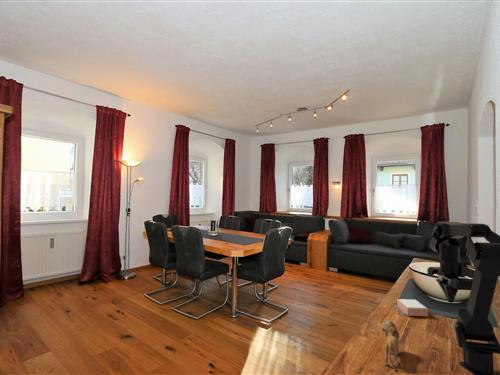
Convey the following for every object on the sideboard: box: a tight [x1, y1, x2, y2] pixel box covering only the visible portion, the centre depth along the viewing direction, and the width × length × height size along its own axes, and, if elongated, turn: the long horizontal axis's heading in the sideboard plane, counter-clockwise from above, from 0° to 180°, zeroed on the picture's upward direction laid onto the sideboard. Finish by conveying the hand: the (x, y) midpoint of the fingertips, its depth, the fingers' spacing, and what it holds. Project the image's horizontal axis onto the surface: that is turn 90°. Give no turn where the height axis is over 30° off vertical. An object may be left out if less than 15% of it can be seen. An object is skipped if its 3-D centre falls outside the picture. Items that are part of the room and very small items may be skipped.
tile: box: [396, 298, 429, 317], centre depth 120 cm, size 3×8×10 cm
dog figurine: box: [379, 320, 401, 370], centre depth 87 cm, size 15×5×9 cm, turn 160°
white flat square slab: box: [393, 304, 429, 317], centre depth 122 cm, size 10×10×1 cm
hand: (450, 302), depth 97 cm, fingers closed
